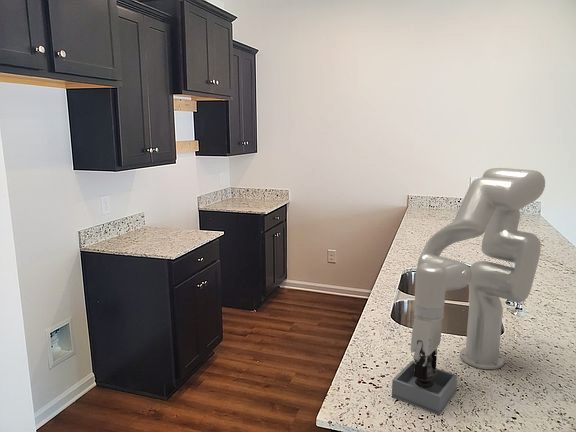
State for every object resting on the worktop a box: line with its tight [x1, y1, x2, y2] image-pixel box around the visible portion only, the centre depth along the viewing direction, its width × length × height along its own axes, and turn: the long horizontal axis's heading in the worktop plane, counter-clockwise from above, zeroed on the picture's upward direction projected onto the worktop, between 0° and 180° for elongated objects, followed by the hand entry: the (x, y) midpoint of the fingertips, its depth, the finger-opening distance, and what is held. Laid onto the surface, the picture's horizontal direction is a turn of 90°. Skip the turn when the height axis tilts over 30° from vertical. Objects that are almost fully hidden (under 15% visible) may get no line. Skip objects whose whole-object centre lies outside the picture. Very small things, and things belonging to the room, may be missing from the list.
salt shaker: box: [414, 351, 437, 388], centre depth 121 cm, size 6×6×12 cm
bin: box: [391, 360, 458, 416], centre depth 123 cm, size 13×13×5 cm
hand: (425, 372), depth 122 cm, fingers closed on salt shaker, 5 cm apart
